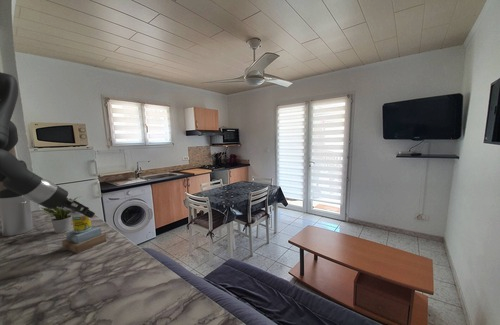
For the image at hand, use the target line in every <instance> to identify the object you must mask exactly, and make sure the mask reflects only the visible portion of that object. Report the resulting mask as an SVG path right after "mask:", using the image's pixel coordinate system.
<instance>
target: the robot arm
mask: <svg viewBox="0 0 500 325" xmlns="http://www.w3.org/2000/svg"><path fill="white" fill-rule="evenodd" d="M18 84H19V83H18V81H17V79H16V77H15V76H14V75H12V74H9V73H5V72H2V71H1V72H0V183H2V186H3V187H4V189H0V225H1V232H2V236H3V237H12V236H17V235H22V234H25V233H28V232H31V231H32V230H33V229H34V224H33V223H34V222H33V216H32V207H31V201H32V202H34V203H35V204H37V205H39V206H42V207H43V208H47V209H51V210H54V209H53V208H55V207H57V206H58V207H57V208H61V209H63V210H65V211H70V213H72V214H74V213H76V212H78V213H81V214H83V215H85V216H87V217H89V218H90V219H92V218H93V217H94V216H95V214H96V213H95V212H94V211H92V210H90V208H89V207H88V206H87V205H84V204H82V203H80V202H79V201H77V200H76V201H75V200H73V199H74V198H68V195H69V191H67V190H66V189H64V188H62V187H61V186H59V185H57V184H55V183H54V182H52V181H51V180H47V179H45V178H44V177H41V176H40V175H37V173H34V172H32V171H31V170H30V169H28V165H27V162H25V161H24V160H22V159H21V160H19V159H18V158H17V157H16V156H15V155H14V154H13V153H11V151H12V149H13V148H15V146H16V145H17V144H18V141H19V135H18V128H17V125H16V124H15V123H14V122H13V120H11V119H12V116H13V114H14V111H15V108H16V104H17V102H18V96H19V86H18ZM86 206H87V207H86ZM81 208H83V210H82V211H80V209H81Z"/></svg>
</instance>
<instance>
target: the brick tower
mask: <svg viewBox="0 0 500 325" xmlns="http://www.w3.org/2000/svg"><path fill="white" fill-rule="evenodd" d="M65 236H66V239H63V240H61V241H62V249H65V250H67V251H70V252H73V253H76V254H79V253H81V252H84V251H86V250H88V249H89V250H90V248H93V247H95V246H99V245H101V244H102V243H105V242H106V241H107V237H106V236H107V235H106V233H103V232H102V228H101V227H100V226H99V227H98V226H94V225H92V224H91V229H90V230H88V231H86V232H82V233H75V232H74V229H73V230H68V231H66V232H65Z"/></svg>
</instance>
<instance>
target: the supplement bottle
mask: <svg viewBox="0 0 500 325" xmlns="http://www.w3.org/2000/svg"><path fill="white" fill-rule="evenodd" d="M85 206H86V207H88V206H87V205H85ZM82 210H83V208H81V209H80V211H82ZM91 220H92V218H89V217H87V216H85V215H83V214H81V213H78V212H76V213H72V224H73V226H72V227H73V230H74V232H75V233H82V232H86V231H88V230H90V229H91V225H92V221H91Z"/></svg>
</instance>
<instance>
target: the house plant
mask: <svg viewBox="0 0 500 325" xmlns="http://www.w3.org/2000/svg"><path fill="white" fill-rule="evenodd" d="M78 198H82V196H76V197H75V198H72V199H73V200H74V201H77V200H76V199H78ZM40 209H42V210H44V211H45V214H51V225H52V226H53V229H54V232H55V233H56V234H60V233H66V232H69V231H71V228H72V221H73V219H72V215H73V214H72V215H70V213H71V212H70V211H65V210H63V209H61V208H58V206H57V207H55V208H53V209H48V208H46V207H40ZM42 215H44V213H43V214H42ZM52 217H53V218H52Z"/></svg>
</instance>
